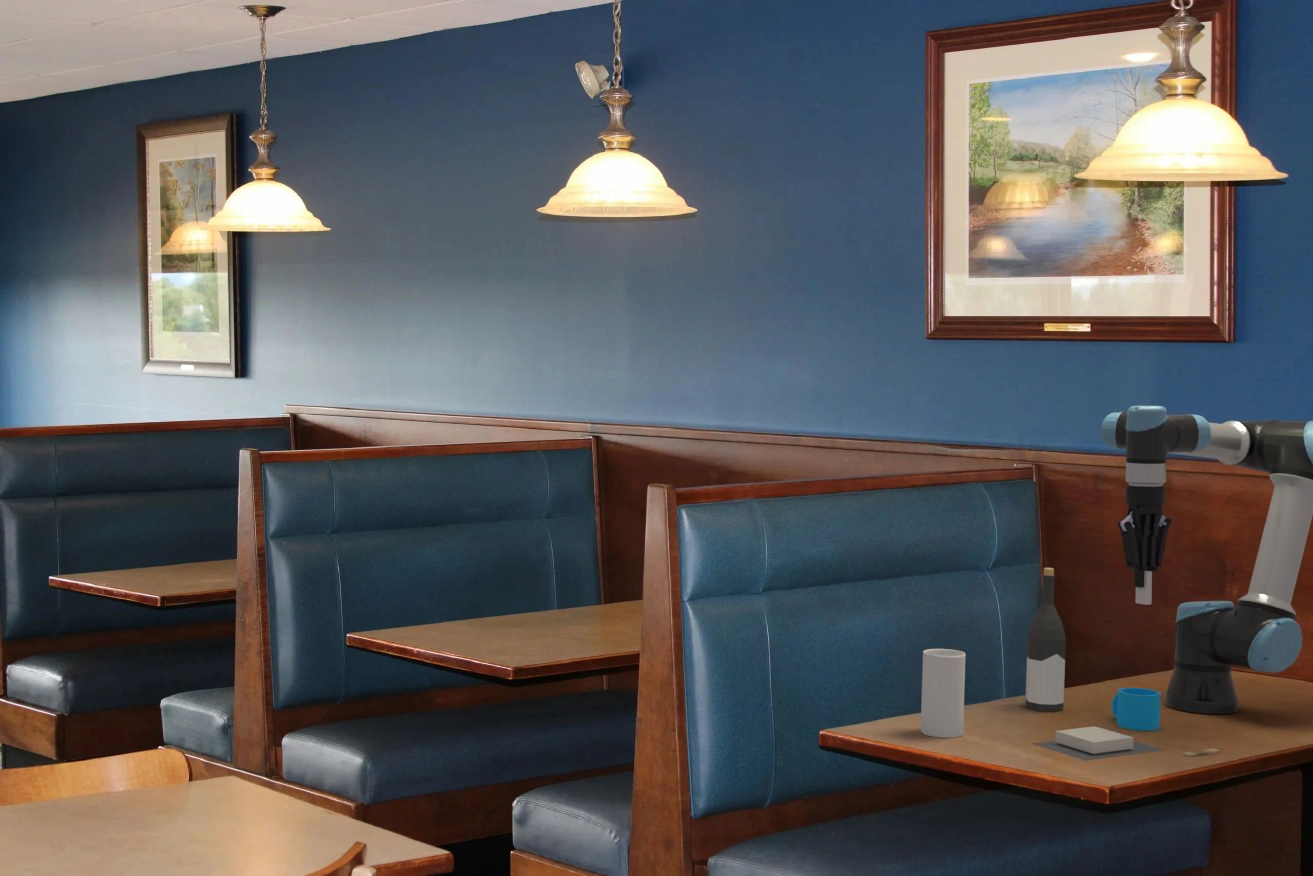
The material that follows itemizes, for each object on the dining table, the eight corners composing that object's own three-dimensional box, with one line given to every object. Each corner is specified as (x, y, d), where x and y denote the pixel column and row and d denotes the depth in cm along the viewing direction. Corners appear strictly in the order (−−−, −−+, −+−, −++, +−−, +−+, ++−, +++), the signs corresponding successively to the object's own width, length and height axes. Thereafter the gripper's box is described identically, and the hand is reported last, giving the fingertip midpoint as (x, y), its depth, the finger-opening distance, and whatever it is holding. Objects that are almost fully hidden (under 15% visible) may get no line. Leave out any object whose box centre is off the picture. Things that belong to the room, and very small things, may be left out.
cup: (965, 730, 311) (968, 650, 310) (959, 739, 303) (962, 657, 302) (924, 726, 313) (926, 647, 313) (917, 735, 306) (919, 654, 305)
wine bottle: (1050, 703, 339) (1054, 565, 338) (1071, 711, 332) (1076, 570, 331) (1017, 704, 337) (1022, 566, 336) (1038, 712, 329) (1042, 571, 328)
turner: (1204, 754, 295) (1204, 746, 295) (1229, 761, 290) (1229, 753, 290) (1141, 763, 288) (1142, 755, 288) (1166, 771, 282) (1167, 762, 282)
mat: (1109, 740, 306) (1109, 733, 306) (1164, 756, 293) (1164, 749, 293) (1031, 749, 296) (1032, 743, 296) (1085, 766, 284) (1085, 760, 284)
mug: (1168, 735, 311) (1169, 694, 311) (1134, 738, 308) (1136, 697, 308) (1128, 722, 322) (1130, 683, 322) (1096, 724, 319) (1097, 685, 319)
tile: (1094, 726, 301) (1055, 731, 296) (1133, 737, 292) (1093, 742, 287) (1094, 739, 301) (1054, 743, 296) (1133, 750, 292) (1093, 755, 287)
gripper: (1153, 481, 314) (1151, 598, 315) (1107, 484, 307) (1105, 603, 308) (1183, 484, 307) (1181, 603, 309) (1136, 487, 301) (1135, 609, 302)
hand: (1143, 603), depth 308 cm, fingers closed
